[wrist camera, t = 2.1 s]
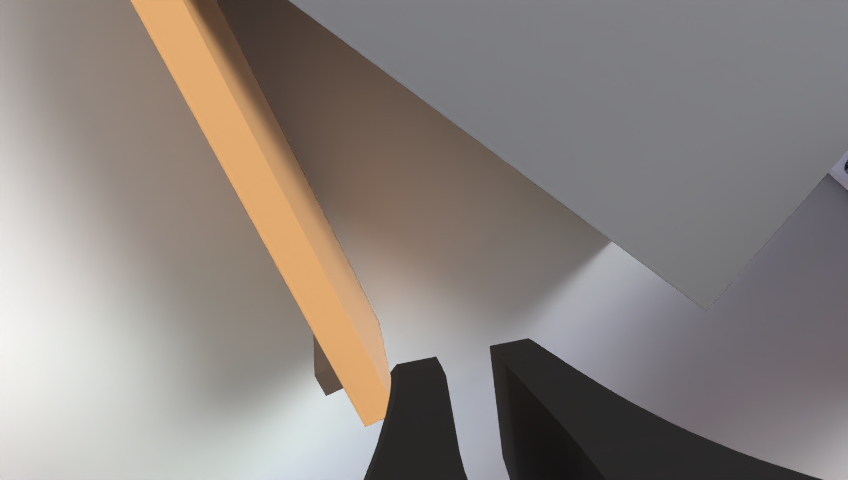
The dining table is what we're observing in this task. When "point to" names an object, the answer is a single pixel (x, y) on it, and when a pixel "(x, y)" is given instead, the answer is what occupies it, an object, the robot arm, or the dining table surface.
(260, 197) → the door
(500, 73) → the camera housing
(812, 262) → the dining table surface
